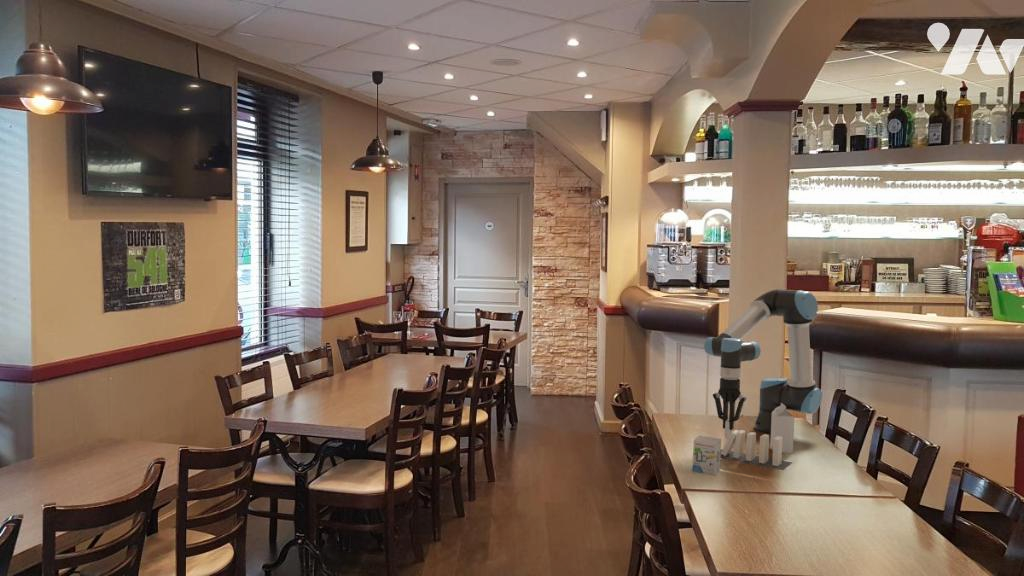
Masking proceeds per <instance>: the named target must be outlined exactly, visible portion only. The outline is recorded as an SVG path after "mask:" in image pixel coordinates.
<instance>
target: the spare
mask: <svg viewBox="0 0 1024 576" xmlns="http://www.w3.org/2000/svg"><path fill="white" fill-rule="evenodd" d="M738 431H739V430H738V429H734V430H731V434H730V436H729V438H727V440H726V442H725V444H724V446H723V448H722V452H721V454H722V455H724V456H726V455H728V454H729V453H730V451H732V450H733V447H734V446H735V439H736V432H738Z"/></svg>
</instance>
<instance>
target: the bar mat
mask: <svg viewBox="0 0 1024 576" xmlns="http://www.w3.org/2000/svg"><path fill="white" fill-rule="evenodd" d="M722 450H723V448H721V452H722ZM733 453H734V450H733V451H732V450H731V451H730V453H729V454H728V455H726V456H724V455H722V454H721V456H720V459H722V460H728V461H734V462H738V463H744V464H750V465H754V466H760V467H766V468H771V469H776V470H781V471H784V470H786V469H787V468H788V467H789V466H790V465H792V463H793V462H792V461H786V460H782V463H781V464H780V465H779V466H774V465H772V461H773V458H771V457H768V461H767V462H766V463H759V455H755V458H754V459H753V460H752V461H748V460H746V453H742V456H741V457H740V458H738V459H737V458H734V457H733Z"/></svg>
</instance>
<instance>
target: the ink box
mask: <svg viewBox="0 0 1024 576" xmlns="http://www.w3.org/2000/svg"><path fill="white" fill-rule="evenodd" d="M721 449H722V439H721V438H718V437H711V436H705V435H704V436H703V435H698V436H697V437H696V438H695V439H694V440H693V451H692V452H693V453H692V469H691V471H692V472H695V473H701V474H707V475H713V476H716V475H717V473H718V472H720V469H721V458H720V456H721Z"/></svg>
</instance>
